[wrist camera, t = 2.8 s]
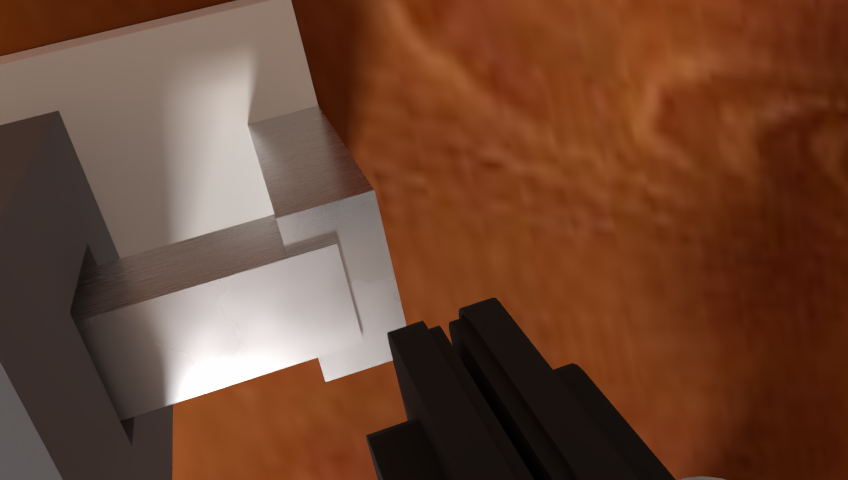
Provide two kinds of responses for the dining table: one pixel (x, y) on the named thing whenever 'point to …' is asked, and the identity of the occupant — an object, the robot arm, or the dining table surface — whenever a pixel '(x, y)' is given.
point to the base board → (169, 114)
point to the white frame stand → (251, 284)
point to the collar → (58, 323)
